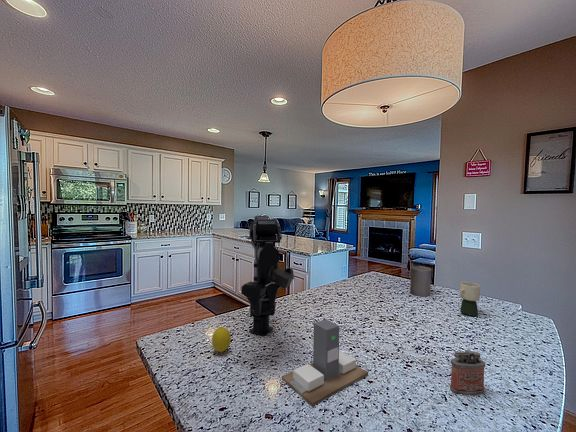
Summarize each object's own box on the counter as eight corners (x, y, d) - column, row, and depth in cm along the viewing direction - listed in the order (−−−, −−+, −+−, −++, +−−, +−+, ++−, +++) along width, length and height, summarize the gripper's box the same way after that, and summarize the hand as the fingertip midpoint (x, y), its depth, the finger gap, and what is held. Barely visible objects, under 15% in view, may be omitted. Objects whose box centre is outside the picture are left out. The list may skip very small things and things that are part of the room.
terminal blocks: (293, 378, 71) (293, 370, 71) (339, 357, 81) (339, 350, 81) (308, 391, 66) (308, 382, 66) (355, 367, 76) (355, 359, 76)
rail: (289, 383, 69) (289, 381, 69) (344, 358, 81) (344, 356, 81) (302, 394, 65) (302, 392, 65) (357, 366, 77) (357, 364, 77)
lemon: (223, 345, 89) (223, 321, 89) (234, 351, 86) (234, 326, 85) (208, 352, 85) (208, 327, 84) (219, 359, 81) (219, 332, 81)
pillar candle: (406, 291, 148) (407, 263, 147) (422, 290, 150) (423, 263, 149) (417, 297, 139) (418, 268, 138) (435, 296, 140) (436, 267, 139)
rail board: (281, 379, 72) (281, 376, 72) (335, 355, 84) (335, 352, 84) (311, 406, 63) (312, 403, 63) (368, 375, 74) (368, 372, 74)
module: (313, 370, 74) (313, 323, 74) (325, 365, 77) (326, 319, 76) (326, 381, 70) (327, 330, 69) (338, 375, 72) (339, 326, 72)
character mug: (470, 309, 123) (471, 280, 122) (486, 316, 116) (487, 285, 115) (451, 312, 119) (452, 282, 119) (466, 318, 113) (467, 287, 112)
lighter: (477, 386, 70) (479, 347, 70) (487, 395, 67) (489, 355, 67) (446, 386, 70) (448, 347, 70) (455, 395, 67) (456, 355, 66)
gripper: (275, 269, 73) (275, 327, 73) (301, 257, 90) (300, 304, 91) (240, 264, 77) (239, 320, 78) (270, 254, 94) (270, 299, 95)
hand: (265, 310), depth 85 cm, fingers open, 9 cm apart
